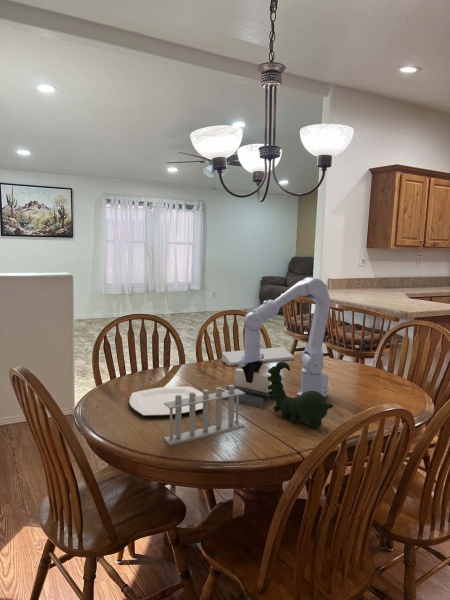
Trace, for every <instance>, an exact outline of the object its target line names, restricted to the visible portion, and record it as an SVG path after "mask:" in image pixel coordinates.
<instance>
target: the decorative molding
mask: <svg viewBox="0 0 450 600" xmlns="http://www.w3.org/2000/svg"><path fill="white" fill-rule="evenodd" d="M260 353H263V354H264V359H260V360H259V361H262V362H263V363H271V362H284V361H291V360H293V359H294V358H295V356H294V355H293V354H292V353H290V351H289V350H288V349H287V348H286V347H284V346H278V347H269V348H260ZM243 355H244V350H233V351H222V353H221V362H222V363H225V364H226V365H227V366H229V367H234V366H239V361H240V360H241V359H242V356H243Z"/></svg>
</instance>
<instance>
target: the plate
mask: <svg viewBox="0 0 450 600" xmlns="http://www.w3.org/2000/svg"><path fill="white" fill-rule="evenodd" d="M190 392H195V394H196V395H195V397H197V396H202V395H203V391H200V390H198V389H196V388H194V387H192V386H164V387H163V386H161V387H155V388H149V389H142V390H139V391H134V392H132V393H131V395H130V397H129V400H128V401H129V405H130V407H131V409H133V410H134V411H136V412H137V413H139V414H140V415H141V416H144V417H146V416H147V417H154V416H155V417H156V416H170V409H169V408H168V407H167V406H165V405H164V403H166V402H171V401H175V397H176V395H181V397H182V399H187V398H189V394H190ZM200 410H203V403H198V404H195V412H197V411H200ZM182 414H189V405H188V406H183V407H182ZM173 416H175V408H173Z"/></svg>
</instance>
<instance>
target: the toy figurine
mask: <svg viewBox="0 0 450 600" xmlns="http://www.w3.org/2000/svg"><path fill="white" fill-rule="evenodd" d="M283 369H286V370H288V372H290V371H291V367H290V365H289V363H287V362H285V361H278V362H276V365H275V366H272V367H271V368H270V369H269V368H268V370H267V372H268V373H269V375H271V376H270V377H268V381H271V384H270V385H271V386H268V390H272V395H269V399H270V400H274V401H275V406H273V411H274V412H275V413H278V412H280V411H281V418H282V419H283V420H287V419H288V418H290V420H291V421H292V422H293V423H297V422H299V420H302V419H303V420H304V421H306V422H309V426H310V428H312V429H318V428H319V427H321V426H322V424H323V421H322V420H324V419H325V417H326V416H327V415H328V411H329V410H330V409H332V408H333V407H334V404H332V403H330V402H328V401H327V399H326V396H325V397H324V396H323V395H322V394H321V393H319V392H317V391H307V392H304V393H303V394H301V395H300V396H295V397H289V396H288V395H287V394H286V391H285V390H284V384H283V382H282V380H283V379H282V378H283V377H282V375H281V370H283ZM274 401H273V402H274Z"/></svg>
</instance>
